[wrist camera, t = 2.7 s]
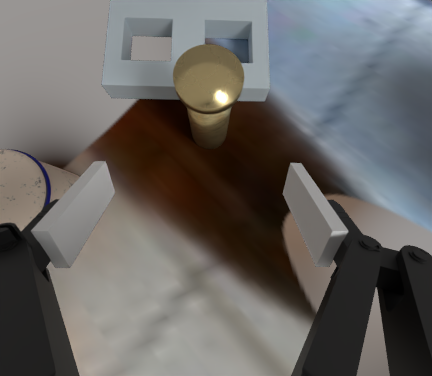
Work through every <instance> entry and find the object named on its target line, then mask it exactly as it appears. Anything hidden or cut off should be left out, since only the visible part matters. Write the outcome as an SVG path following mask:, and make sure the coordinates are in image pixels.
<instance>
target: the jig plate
mask: <svg viewBox="0 0 432 376" xmlns="http://www.w3.org/2000/svg"><path fill="white" fill-rule="evenodd" d="M132 36H153V37H172V49H171V61H140V60H139V61H138V60H130V59H131V46H132ZM205 38H222V39H248V53H249V63H241V64H242V67H243V70H244V84H243V88H242V92H241V95H240V97H239V99H238V100H237V101H265V99H266V97H267V95H268V92H269V90H270V72H269V46H268V20H267V0H110V8H109V17H108V26H107V36H106V46H105V55H104V65H103V75H102V86H103V87H104V89H105V90H106V91H107V93H108V94H109V95H110V96H111V98H128V99H133V98H134V99H175V100H180V99H179V97H178V95H177V93H176V90H175V86H174V82H173V70H174V66H175V64H176V62H177V60H178V59H179V57H180V56H181V55H182V54H183V53H184V52H186V51H187V50H188V49H190V48H192V47H195V46H198V45H203V44H205Z"/></svg>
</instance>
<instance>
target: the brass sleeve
mask: <svg viewBox="0 0 432 376" xmlns="http://www.w3.org/2000/svg"><path fill="white" fill-rule="evenodd" d="M173 82H174V86H175V90H176V93H177V95H178V97H179V99H180V100H181V102H182V103H183V104H184V105H185V106H186V107H187V111H188V116H189V121H190V126H191V131H192V136H193V139H194V141H195V143H196V144H197V145H198V146H200V147H202V148H204V149H214V148H217V147H219V146H220V145H221V144H222V143H223V142H224V140H225V138H226V133H227V127H228V122H229V116H230V111H231V107H232V106H233V105H234V104H235V103H236V102H237V100H238V99H239V97H240V95H241V92H242V88H243V84H244V70H243V67H242V64H241V62H240V61H239V59H238V58H237V57H236V56H235V55H234V54H233V53H232V52H231V51H229V50H228V49H226V48H224V47H221V46H218V45H213V44H203V45H198V46H195V47H192V48H190V49H188V50H187V51H186V52H184V53H183V54H182V55H181V56H180V57H179V59H178V60H177V62H176V64H175V66H174V70H173Z"/></svg>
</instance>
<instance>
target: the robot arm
mask: <svg viewBox="0 0 432 376" xmlns="http://www.w3.org/2000/svg"><path fill="white" fill-rule="evenodd" d="M114 194H115V190H114V187H113V184H112V181H111V177H110V174H109V171H108V168H107V164H106V161H94V162H93V163H92V164H91V166H90V167H89V168H88V169H87V170H86V171H85V172H84V173H83V174H82V175H81V177H80V178H79V179H78V180H77V181H76V182H75V183H74V184H73V185H72V186H71V187H70V189H69V190H68V191H67V192H66V193H65V194H64V195H63V196H62V197H61V198H60V199H55V200H54V201H52V202H50V203H49V204H47V205H46V206H45V207H44V208H43V209H42V210H41V212H39V213H38V214H37V215H36V218H34V219H33V220H32V221H31V222H30V223H29V224H28V225H27V226H26V227H25V228H24V229H23V230H22V231H20V230H19V228H18V227H17V225H16V224H15V223H11V222H10V223H2V224H0V376H79V373H78V369H77V366H76V362H75V359H74V356H73V352H72V349H71V345H70V342H69V339H68V335H67V332H66V328H65V325H64V321H63V318H62V315H61V311H60V308H59V304H58V301H57V298H56V294H55V291H54V287H53V284H52V280H51V277H50V274H49V271H48V269H47V268H46V267H47V265H48V264H49V262H50V261H51V262H52V264H53V265H54V267H55V268H70V267H71V266H72V264H73V262H74V261H75V259H76V257H77V256H78V254H79V252H80V251H81V249H82V247H83V246H84V244H85V242H86V241H87V239H88V237H89V236H90V234H91V232H92V231H93V229H94V227H95V226H96V224H97V222H98V221H99V219H100V217H101V216H102V214H103V212H104V211H105V209H106V207H107V206H108V204H109V202H110V201H111V199H112V197H113V196H114ZM283 195H284V197H285V200H286V202H287V204H288V206H289V209H290V211H291V213H292V215H293V217H294V220H295V222H296V224H297V226H298V228H299V230H300V233H301V235H302V237H303V239H304V242H305V244H306V246H307V248H308V250H309V253H310V255H311V257H312V259H313V261H314V264H315V266H316V267H330V265H331V263H332V261H333V260H334V261H335V263H336V265H337V267H336V269H335V270H334V272H333V274H332V276H331V280H330V283H329V285H328V288H327V290H326V293H325V295H324V297H323V300H322V302H321V305H320V307H319V310H318V312H317V314H316V317H315V319H314V322H313V324H312V326H311V329H310V331H309V334H308V336H307V339H306V341H305V343H304V346H303V348H302V351H301V353H300V356H299V358H298V360H297V363H296V365H295V368H294V370H293V373H292V375H291V376H356V375H357V370H358V365H359V361H360V356H361V352H362V347H363V343H364V338H365V333H366V329H367V324H368V320H369V315H370V311H371V306H372V302H373V297H374V292H375V288H376V287H377V289H378V296H379V303H380V310H381V317H382V324H383V331H384V338H385V345H386V352H387V359H388V366H389V373H390V376H432V256H431V255H430V254H429V253H427V252H426V251H424V250H422V249H420V248H418V247H415V246H410V245H408V246H404V247H402V248H401V250H400V251H396V250H392V249H387V248H383V247H382V246H381V244H380V243H379V242H377V241H376V240H375V239H373V238H371V237H369V236H366V235H363V234H362V233H361V231H360V230H359V229H358V227H357V226H356V225H355V224H354V222H353V221H352V220H351V218H349V216H348V214H347V213H345V210H344V209H343V208H342V207H341V205H340V204H338V203H337V202H335V201H334V200H326V198H325V197H324V195H323V194H322V193H321V191H320V190H319V188H318V187H317V185H316V184H315V183H314V181H313V180H312V178H311V177H310V175H309V174H308V173H307V171H306V170H305V168H304V167H303V165H302V164H301V163H290V167H289V171H288V175H287V179H286V183H285V187H284V191H283Z"/></svg>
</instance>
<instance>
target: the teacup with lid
mask: <svg viewBox="0 0 432 376" xmlns="http://www.w3.org/2000/svg"><path fill="white" fill-rule="evenodd" d="M79 178H80V177H79V176H78V175H76V174H73V173H71V172H68V171H65V170H63V169H60V168H57V167H54V166H52V165H49V164H46V163H44V162H41V161H38V160H36V159H35V158H34V157H32V156H31V155H29V154H27V153H24V152H21V151H18V150H9V149H0V224H2V223H10V222H11V223H15V224H16V225H17V227H18V228H19V230H20V231H22V230H23V229H24V228H25V227H26V226H27V225H28V224H29V223H30V222H31V221H32V220H33V219H34V218H36V215H37V214H38V213H39V212H41V210H42V209H43V208H44V207H45V206H46V205H47V204H49V203H50V202H52V201H54V200H55V199H60V198H61V197H62V196H63V195H64V194H65V193H66V192H67V191H68V190H69V189H70V187H71V186H72V185H73V184H74V183H75V182H76V181H77V180H78V179H79Z"/></svg>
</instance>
